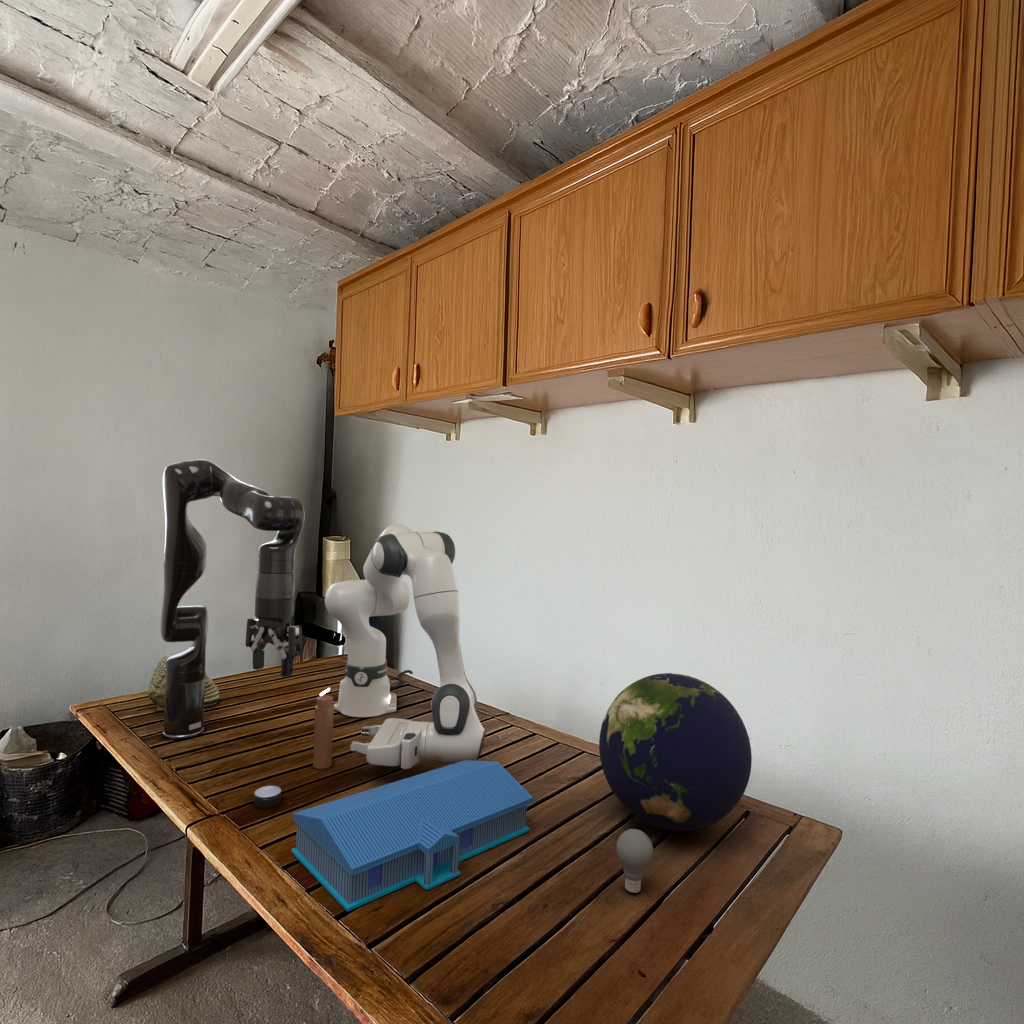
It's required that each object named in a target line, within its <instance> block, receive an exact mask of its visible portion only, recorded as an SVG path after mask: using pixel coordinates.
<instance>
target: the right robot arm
mask: <svg viewBox="0 0 1024 1024" xmlns="http://www.w3.org/2000/svg"><path fill="white" fill-rule="evenodd" d="M455 557H456V546H455V542H454V540H453V539H452V537H451V536H450V535H449V534H448V533H445V532H442V531H412V530H411V528H409V527H408V526H406V525H403V524H398V523H397V524H391V525H388V526H387V527H386V528H385V529H384V530H383V531H382V532H381V533H380V534H379V536H378V537H377V538H376V539H375V541H374V542H373V544H372V547H371V549H370V552H369V553H368V556H367V558H366V560H365V562H364V564H363V568H362V569H363V570H362V572H363V577H364V578H365V579H347V580H342V581H338V582H334V583H332V584H331V585H330V586H329V587H328V588H327V590H326V592H325V595H324V605H325V608H326V610H327V612H328V613H329V614H330V615H331V616H332V617H333V618H334V619H336V620H337V621H339V623H340V624H341V626H342V627H343V629H344V632H345V635H346V640H347V662H346V663H345V668H344V671H345V672H344V673H345V674H344V675H345V677H344V678H343V679H341V680H340V682H339V689H338V690H339V691H338V701H337V702H336V703H333V705H334V711H335V710H336V711H338V712H339V713H340V714H342V715H345V716H348V717H352V718H372V717H378V716H382V715H386V714H390V713H396V712H397V703H398V702H397V701H398V699H397V698H398V697H397V694H396V693H395V692H391V690H395V689H398V688H399V687H401V686H402V685H403V684H404V679H403V678H401V677H402V676H403V675H405V674H410V675H414V672H413V671H412V670H411V669H406V670H403V671H401V672H400V673H399V674H397V676H396V679H397V681H399V683H397V684H396V685H392V677H391V676H388V675H387V674H388V663H387V662H388V661H387V658H386V657H387V637H386V636H385V634H384V633H383V632H382V631H381V630H380V629H377V628H375V627H374V626H371V624H370V617H371V618H372V617H383V616H384V617H385V616H392V615H397V614H399V613H403V612H405V611H406V610H408V608H409V606H410V604H411V602H412V601H411V600H412V594H413V603H414V608H415V613H416V615H417V619H418V622H419V624H420V627H421V628H422V630H424V632H425V633H426V634H427V636H428V637H429V639H430V641H431V642H432V644H433V647H434V651H435V654H436V661H437V665H438V666H437V667H438V672H439V678H440V680H439V681H440V682H439V683H440V684H439V688H437V689H436V690H435V692H434V694H433V695H432V698H431V702H430V704H431V705H430V708H431V715H432V721H419V720H417V721H416V720H411V719H406V718H397V717H389V718H386V719H385V720H384V721H383V723H382V724H376V725H375V724H374V725H371V726H362V728H361V732H360V733H361V736H363V737H369V736H373V738H372V739H371V741H370V742H366V743H363V742H361V741H360V740H353V741H352V742H351V743H350V751H351V752H358V753H360V754H363V755H366V758H365V759H366V760H365V761H366V762H367V763H368V764H369V765H372V766H379V767H380V766H381V767H398V766H400V769H401V770H402V769H403V770H409V769H412V767H414V766H415V765H417V764H420V763H421V762H422V763H430V762H434V761H437V762H438V761H439V762H441V763H444V764H455V763H458V762H461V761H464V760H469V761H478V759H479V758H480V756H481V755H482V751H483V749H484V744H485V739H486V729H485V727H484V726H483V724H482V723H481V721H480V718H479V716H478V714H477V711H476V708H477V704H478V699H477V694H476V692H475V690H474V688H473V686H472V684H471V683H470V681H469V680H468V678H467V676H466V672H465V666H464V661H463V660H464V659H463V655H462V649H461V643H460V630H461V629H460V626H461V601H460V600H461V599H460V594H459V593H460V592H459V585H458V582H457V578H456V574H455V570H454V567H453V563H454V560H455ZM403 576H408V577H409V578H410V579H411V584H412V593H411V589H410V587H409V585H408V584H407V583H406V581H404V580H402V578H403ZM330 691H331V687H328V688H327V689H325V690H323V691H322V692H320V693H319V696H323V695H326V693H329V692H330Z"/></svg>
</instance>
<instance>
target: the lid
mask: <svg viewBox="0 0 1024 1024" xmlns="http://www.w3.org/2000/svg"><path fill="white" fill-rule="evenodd" d="M281 802H282V789H281V787H280V786H276V785H266V786H262V787H259V788H257V789H256V790H254V795H253V805H254V806H255V807H256V808H260V809H270V808H273V807H275V806H278V805H279V804H280V803H281Z"/></svg>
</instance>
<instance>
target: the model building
mask: <svg viewBox="0 0 1024 1024" xmlns="http://www.w3.org/2000/svg"><path fill="white" fill-rule="evenodd" d="M533 803H534V796H532V795H531V793H529V791H528V790H527V789H526V788H525V787H524V786H523V785H521V783H519V782H518V780H516V778H515V777H514V776H513V775H512V774H511V773H510V772H509V771H508V770H507V769H505V767H504V766H503V765H502V764H501V763H500V762H499V761H495V760H494V761H493V760H492V761H491V760H475V761H469V760H464V761H461V762H458V763H450V764H448V765H445V766H442V767H439V768H435V769H431V770H428V771H426V772H425V771H424V772H423V773H419V774H416V775H413V776H408V777H407V778H402V779H400V780H397V781H393V782H390V783H387V784H384V785H380V786H377V787H374V788H370V789H368V790H363V791H361V792H358V793H355V794H352V795H348V796H345V797H342V798H339V799H335V800H332V801H328V802H325V803H322V804H319V805H316V806H313V807H309V808H306V809H303V810H301V811H300V810H299V811H296V812H293V813H292V820H293V821H294V822H295V823H296V839H295V840H296V841H295V844H296V845H295V847H293V848H291V849H290V853H291V854H292V855H293V856H294V857H295V858H296V859H297V860H298V861H299V862H300V864H302V865H303V866H304V867H305V868H306V869H307V870H308V872H309V873H310V874H311V875H312V876H313V877H314V878H315V879H316V880H317V881H318V882H319V883H320V884H321V886H322V887H323V888H325V890H326V891H327V892H328V893H329V894H330V895H331V896H332V897H333V898H334V900H335V901H337V902H338V904H339V905H340V906H341V907H342V908H344V910H345V911H346V912H350V911H353V910H355V909H356V908H359V907H361V906H362V905H363V906H364V905H366V904H368V903H370V902H372V901H374V900H377V899H379V898H381V897H384V896H385V895H388V894H391V893H393V892H395V891H397V890H400V889H401V888H404V887H406V886H409V885H411V884H413V883H415V882H416V883H417V884H418V885H419V886H420V887H422V889H424V890H425V891H429V890H431V889H434V888H435V887H438V886H439V885H441V884H445V883H447V882H448V881H451V880H453V879H455V878H457V877H459V876H461V874H462V872H461V871H460V870H459V863H461V862H463V861H465V860H467V859H469V858H471V857H472V858H473V857H474V856H476V855H479V854H480V853H483V852H486V851H488V850H490V849H492V848H494V847H496V846H498V845H502V844H503V843H505V842H507V841H510V840H512V839H515V838H517V837H519V836H521V835H523V834H526V833H528V832H530V831H531V828H530V827H529V826H527V812H528V811H527V810H528V805H531V804H533Z"/></svg>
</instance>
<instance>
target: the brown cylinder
mask: <svg viewBox="0 0 1024 1024" xmlns="http://www.w3.org/2000/svg"><path fill="white" fill-rule="evenodd" d="M333 702H334V697H333V696H332V695H330V694H329V695H327V694H324V695H322V696H320V695H319V696H317V697H316V704H315V706H314V721H313V725H314V726H313V747H312V748H313V749H312V767H313V768H314V769H317V770H323V769H328V768H330V767H332V765H333V745H334V744H333V743H334V742H333V740H334V719H335V717H334V715H335V709H334V703H333Z"/></svg>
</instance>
